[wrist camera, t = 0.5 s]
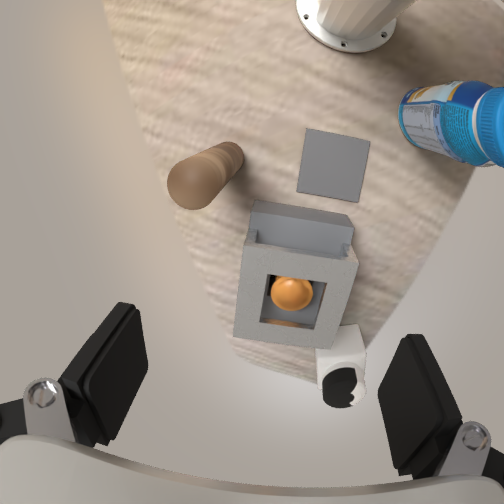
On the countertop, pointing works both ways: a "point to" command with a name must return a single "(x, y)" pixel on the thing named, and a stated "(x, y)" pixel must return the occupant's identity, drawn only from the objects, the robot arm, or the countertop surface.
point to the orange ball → (291, 293)
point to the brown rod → (204, 175)
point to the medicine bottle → (342, 368)
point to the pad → (332, 165)
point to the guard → (295, 266)
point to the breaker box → (298, 246)
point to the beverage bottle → (456, 121)
